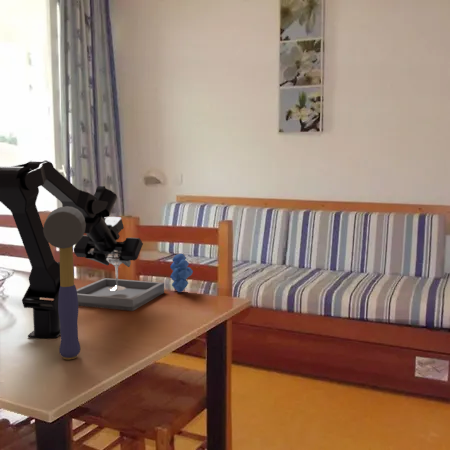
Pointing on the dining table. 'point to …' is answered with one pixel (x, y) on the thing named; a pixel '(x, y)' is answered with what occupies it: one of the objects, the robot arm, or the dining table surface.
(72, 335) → the rubber mallet
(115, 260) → the wineglass
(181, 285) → the grapes
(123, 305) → the tray
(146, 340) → the dining table surface
